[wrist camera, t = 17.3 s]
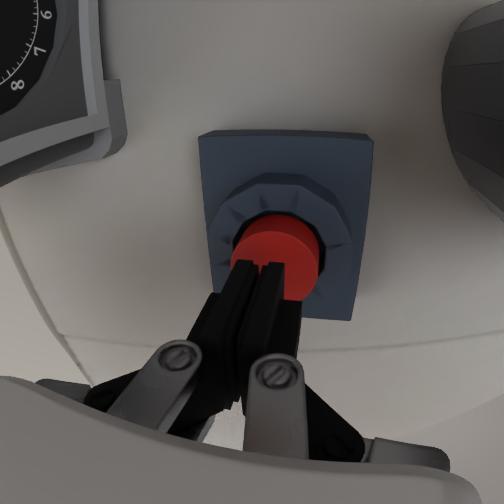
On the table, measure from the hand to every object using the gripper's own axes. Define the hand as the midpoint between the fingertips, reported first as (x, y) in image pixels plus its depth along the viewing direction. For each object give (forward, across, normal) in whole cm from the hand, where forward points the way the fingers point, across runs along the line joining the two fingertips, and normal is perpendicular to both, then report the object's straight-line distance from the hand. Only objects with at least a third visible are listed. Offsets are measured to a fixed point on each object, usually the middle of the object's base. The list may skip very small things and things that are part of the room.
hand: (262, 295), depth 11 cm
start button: (+3, 0, 0) cm, 4 cm away
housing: (+7, 0, 0) cm, 7 cm away
